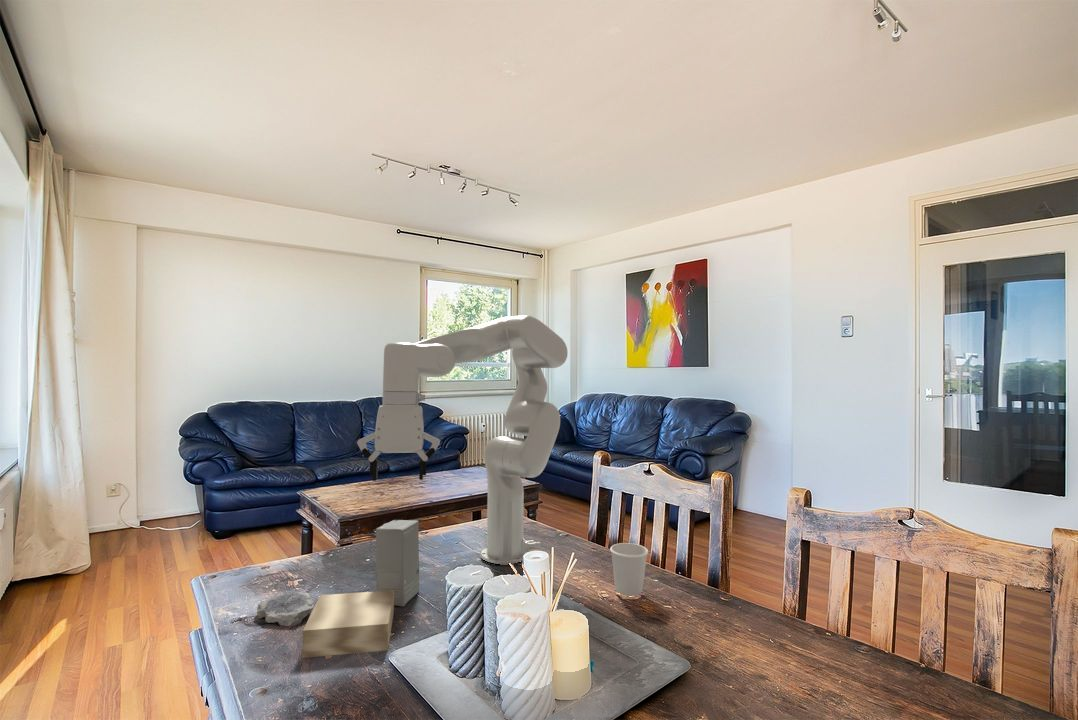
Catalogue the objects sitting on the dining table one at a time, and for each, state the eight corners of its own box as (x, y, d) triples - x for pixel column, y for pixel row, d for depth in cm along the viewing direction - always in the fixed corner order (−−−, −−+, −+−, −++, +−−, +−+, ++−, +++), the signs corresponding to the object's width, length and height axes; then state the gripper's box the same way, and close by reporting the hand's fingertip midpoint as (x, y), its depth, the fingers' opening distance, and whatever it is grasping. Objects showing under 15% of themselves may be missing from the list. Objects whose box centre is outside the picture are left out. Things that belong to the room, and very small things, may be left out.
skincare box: (403, 607, 107) (405, 530, 107) (372, 604, 109) (373, 528, 109) (421, 590, 115) (422, 519, 116) (391, 587, 117) (392, 517, 117)
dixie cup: (632, 584, 121) (633, 540, 121) (655, 598, 113) (656, 552, 113) (602, 590, 117) (602, 545, 117) (623, 605, 110) (624, 558, 110)
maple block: (393, 615, 105) (394, 590, 105) (387, 652, 91) (388, 623, 91) (319, 620, 102) (320, 595, 102) (302, 660, 88) (302, 630, 88)
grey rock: (244, 605, 101) (287, 577, 110) (246, 624, 102) (289, 594, 111) (286, 624, 97) (327, 592, 106) (288, 642, 98) (329, 610, 107)
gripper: (440, 399, 118) (438, 475, 118) (361, 398, 115) (358, 476, 114) (441, 401, 111) (439, 482, 110) (356, 400, 107) (353, 483, 107)
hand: (398, 479), depth 112 cm, fingers open, 9 cm apart
